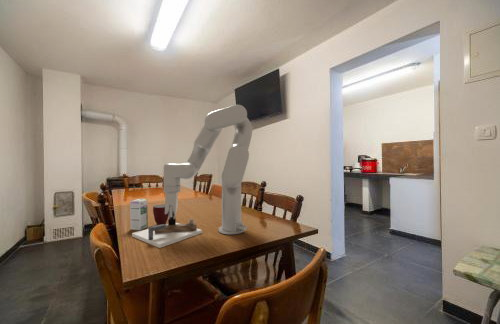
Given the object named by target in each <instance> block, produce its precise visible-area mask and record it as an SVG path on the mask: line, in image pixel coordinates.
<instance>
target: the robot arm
mask: <svg viewBox="0 0 500 324" xmlns="http://www.w3.org/2000/svg"><path fill="white" fill-rule="evenodd" d="M231 126H233V128H234V135H233V138H232V142H231V145H230V148H229V149H228V152H227V156H226V160H225V163H224V166H223V170H222V173H221V226H219V227H218V232H219V233H220V234H223V235H239V234H242V233H243V232H246V230H247V228H248V226H247V225H244V221H242V182H243V180H244V175H245V174H246V173H245V172H246V169H247V165H248V162H249V159H250V158H249V157H250V153H249V148H250V145H251V140H252V137H253V125H252V123H251V121H250V119H249V118H248V111H247V109H246V108H245V107H244V106H243V105H241V104H232V105H230V106H227V107H224V108H221V109H217V110H214V111H213V110H212V111H211V112H209V113H208V114H207V115H206V116H205V117H204V124H203V125H202V128H201V129H200V131H199V133H198V135H197V136H196V138H195V139H194V142H193V148H192V152H191V154H190V156H189V157H188V159H187V161H186V163H185V162H183V163H178V162H177V163H176V162H175V163H172V162H171V163H167V162H166V163H164V165H163V193H164V194H165V197H164V198H165V199H164V204H165V214H167V213H168V212H169V215H168V220H167V222H168V223H167V224H168V225H176V223H177V222H176V220H177V219H176V214H177V210H178V202H179V201H178V199H179V198H178V195H179V193H181V179H185V180H189V179H192V178H194V177H196V175H197V174H198V173H199V171H200V169H201V168H202V165H203V164H204V162H205V160H206V158H207V156H208V155H209V154H210V152H211V149H212V148H213V146H214V144H215V142H216V140H217V139H218V137H219V136H220V134H221V132H222V130H223V129H225V128H228V127H231Z"/></svg>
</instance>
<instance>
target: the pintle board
mask: <svg viewBox="0 0 500 324" xmlns="http://www.w3.org/2000/svg"><path fill="white" fill-rule="evenodd" d="M176 224H180V223H179V222H176ZM165 225H168V223H166V224H165ZM202 233H203V229H201V228H197V229H196V230H194V231H176V232H163V233H155V231H153V240H148V228H146V229H142V230H137V231H135V232H132V233H131V237H132V238H134V239H137V240H140V241H142V242H144V243H147V244H149V245H151V246H154V247H156V248H158V249H161V248H163V247H167V246H169V245H172V244H175V243H178V242H180V241H184V240H187V239H189V238H191V237H195V236H198V235H200V234H202Z"/></svg>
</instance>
